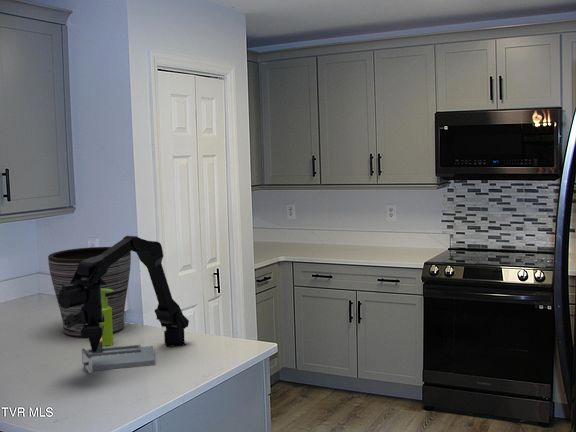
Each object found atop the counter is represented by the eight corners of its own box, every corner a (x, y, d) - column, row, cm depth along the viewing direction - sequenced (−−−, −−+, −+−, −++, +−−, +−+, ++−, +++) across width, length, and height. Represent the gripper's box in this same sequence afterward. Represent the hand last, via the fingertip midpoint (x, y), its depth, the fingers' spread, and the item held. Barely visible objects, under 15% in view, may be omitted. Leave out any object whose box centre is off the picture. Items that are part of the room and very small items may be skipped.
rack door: (92, 372, 204) (91, 357, 203) (85, 373, 203) (84, 359, 202) (85, 363, 212) (85, 349, 212) (78, 364, 211) (78, 350, 211)
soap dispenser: (110, 347, 234) (108, 291, 232) (92, 345, 236) (90, 290, 234) (118, 342, 240) (116, 287, 238) (101, 341, 242) (99, 286, 240)
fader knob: (103, 350, 225) (102, 337, 224) (102, 353, 222) (102, 340, 221) (92, 351, 224) (91, 338, 223) (91, 354, 221) (91, 341, 220)
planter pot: (91, 345, 237) (86, 262, 233) (35, 334, 252) (30, 256, 249) (150, 325, 262) (147, 249, 259) (96, 316, 278) (92, 245, 275)
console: (153, 350, 230) (152, 332, 229) (154, 364, 215) (154, 345, 214) (84, 356, 225) (83, 338, 224) (81, 371, 209) (80, 352, 209)
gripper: (66, 297, 212) (69, 345, 213) (61, 311, 194) (64, 363, 195) (103, 294, 214) (105, 342, 216) (101, 308, 196) (103, 359, 198)
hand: (94, 351), depth 206 cm, fingers closed
